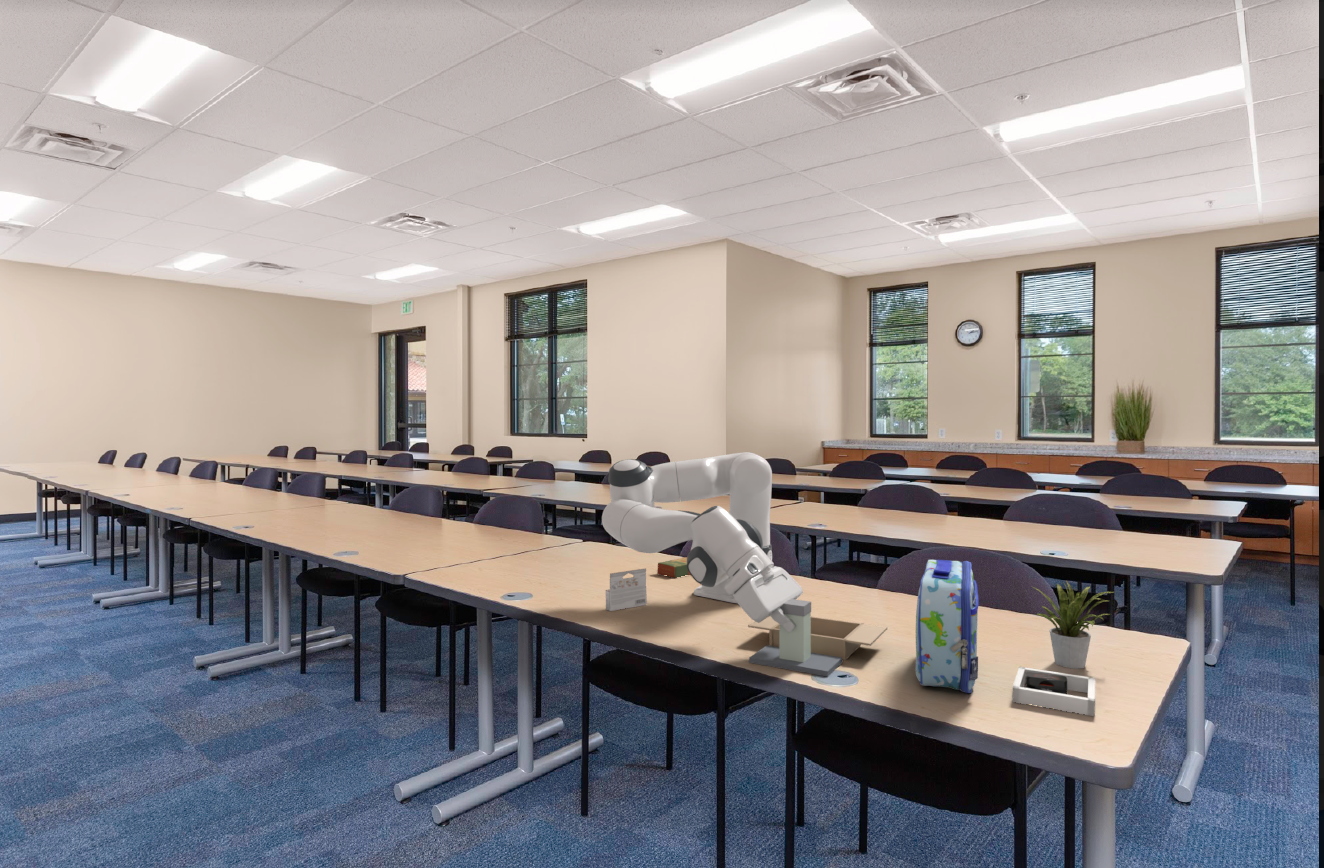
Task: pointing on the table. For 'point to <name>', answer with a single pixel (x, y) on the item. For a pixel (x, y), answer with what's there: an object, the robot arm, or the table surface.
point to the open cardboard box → (829, 635)
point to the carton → (673, 568)
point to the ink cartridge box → (626, 590)
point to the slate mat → (812, 665)
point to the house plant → (1071, 627)
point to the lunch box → (947, 626)
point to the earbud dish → (1056, 699)
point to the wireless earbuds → (1046, 682)
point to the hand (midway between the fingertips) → (797, 625)
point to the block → (796, 631)
